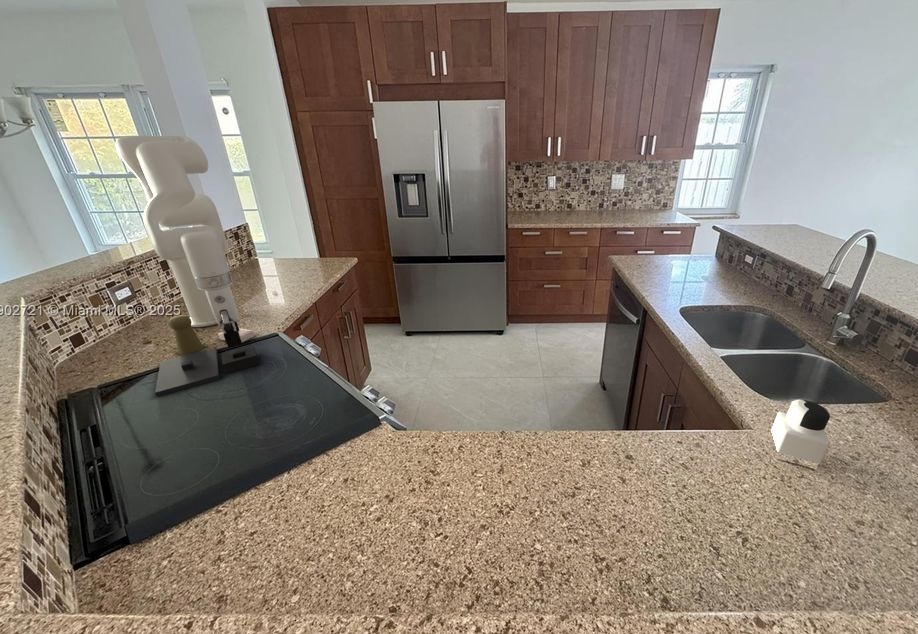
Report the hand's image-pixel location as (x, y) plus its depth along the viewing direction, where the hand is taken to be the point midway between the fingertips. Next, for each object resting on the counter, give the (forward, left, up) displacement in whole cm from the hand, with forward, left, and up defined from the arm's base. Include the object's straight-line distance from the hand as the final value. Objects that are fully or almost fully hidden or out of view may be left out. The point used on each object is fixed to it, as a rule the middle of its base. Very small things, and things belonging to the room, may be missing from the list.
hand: (234, 338), depth 102 cm
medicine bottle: (+106, +89, -9) cm, 139 cm away
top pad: (0, 0, -9) cm, 9 cm away
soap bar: (-19, 0, -9) cm, 21 cm away
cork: (-19, -12, -9) cm, 24 cm away
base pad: (-4, -12, -9) cm, 15 cm away
